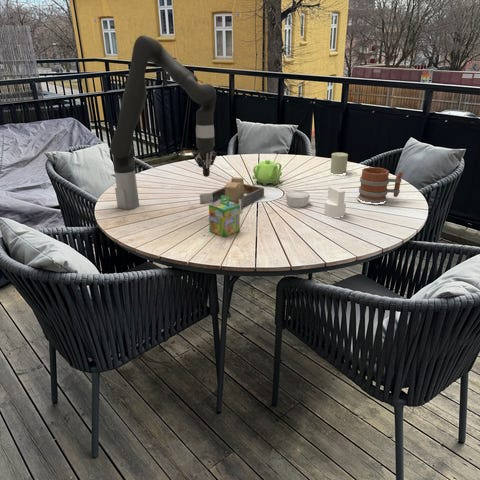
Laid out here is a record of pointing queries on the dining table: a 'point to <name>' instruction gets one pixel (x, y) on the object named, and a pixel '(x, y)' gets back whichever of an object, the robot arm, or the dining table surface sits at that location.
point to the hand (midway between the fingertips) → (206, 176)
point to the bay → (252, 195)
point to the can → (339, 163)
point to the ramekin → (297, 198)
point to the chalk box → (224, 217)
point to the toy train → (235, 189)
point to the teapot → (267, 172)
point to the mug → (377, 185)
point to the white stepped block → (335, 202)
